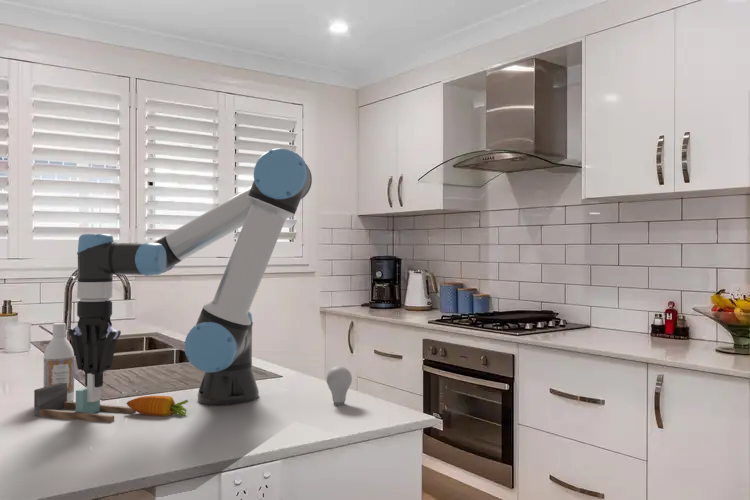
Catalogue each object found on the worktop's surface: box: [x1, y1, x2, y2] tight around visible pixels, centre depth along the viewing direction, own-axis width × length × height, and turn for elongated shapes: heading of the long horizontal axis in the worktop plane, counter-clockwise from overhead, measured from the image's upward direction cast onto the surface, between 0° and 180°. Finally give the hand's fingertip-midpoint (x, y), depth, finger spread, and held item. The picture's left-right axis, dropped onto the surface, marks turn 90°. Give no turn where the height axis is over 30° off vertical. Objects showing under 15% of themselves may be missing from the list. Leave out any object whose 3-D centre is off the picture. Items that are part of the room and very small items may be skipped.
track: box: [33, 383, 137, 423], centre depth 148 cm, size 22×8×6 cm, turn 73°
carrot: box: [126, 395, 189, 417], centre depth 147 cm, size 5×5×15 cm
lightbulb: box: [326, 365, 353, 407], centre depth 152 cm, size 6×6×11 cm
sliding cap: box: [75, 386, 101, 414], centre depth 148 cm, size 2×6×6 cm, turn 163°
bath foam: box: [43, 322, 75, 402], centre depth 160 cm, size 7×7×20 cm
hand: (93, 400), depth 148 cm, fingers closed
